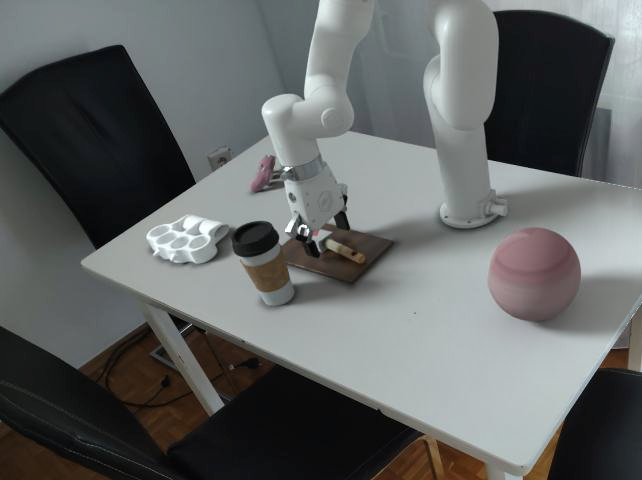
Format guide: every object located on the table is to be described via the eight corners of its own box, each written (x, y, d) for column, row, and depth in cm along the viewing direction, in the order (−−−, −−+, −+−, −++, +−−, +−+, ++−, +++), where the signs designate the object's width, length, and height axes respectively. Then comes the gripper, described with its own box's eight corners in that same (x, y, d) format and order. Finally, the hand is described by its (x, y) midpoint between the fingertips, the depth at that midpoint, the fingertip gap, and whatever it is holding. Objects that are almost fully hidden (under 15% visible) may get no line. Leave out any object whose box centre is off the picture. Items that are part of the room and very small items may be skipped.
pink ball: (514, 274, 115) (507, 202, 105) (594, 291, 109) (595, 217, 98) (476, 327, 107) (464, 255, 96) (560, 350, 100) (557, 275, 90)
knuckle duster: (241, 234, 140) (193, 274, 131) (187, 220, 148) (138, 256, 140) (236, 221, 137) (186, 261, 129) (181, 207, 146) (131, 243, 137)
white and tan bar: (301, 217, 133) (367, 248, 123) (305, 228, 135) (370, 260, 125) (287, 226, 131) (353, 259, 121) (291, 237, 133) (356, 270, 123)
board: (394, 243, 128) (393, 240, 128) (352, 285, 120) (351, 281, 120) (313, 222, 139) (312, 219, 138) (270, 259, 131) (268, 256, 130)
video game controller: (268, 197, 153) (272, 172, 148) (249, 192, 152) (252, 166, 147) (276, 176, 160) (280, 151, 155) (257, 171, 159) (261, 146, 154)
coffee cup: (280, 315, 117) (251, 249, 107) (248, 304, 121) (217, 239, 111) (309, 287, 122) (284, 221, 112) (277, 277, 126) (250, 213, 115)
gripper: (286, 193, 110) (315, 271, 121) (347, 145, 119) (369, 222, 131) (255, 186, 113) (287, 263, 125) (317, 140, 123) (341, 215, 134)
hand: (329, 242), depth 128 cm, fingers open, 9 cm apart
